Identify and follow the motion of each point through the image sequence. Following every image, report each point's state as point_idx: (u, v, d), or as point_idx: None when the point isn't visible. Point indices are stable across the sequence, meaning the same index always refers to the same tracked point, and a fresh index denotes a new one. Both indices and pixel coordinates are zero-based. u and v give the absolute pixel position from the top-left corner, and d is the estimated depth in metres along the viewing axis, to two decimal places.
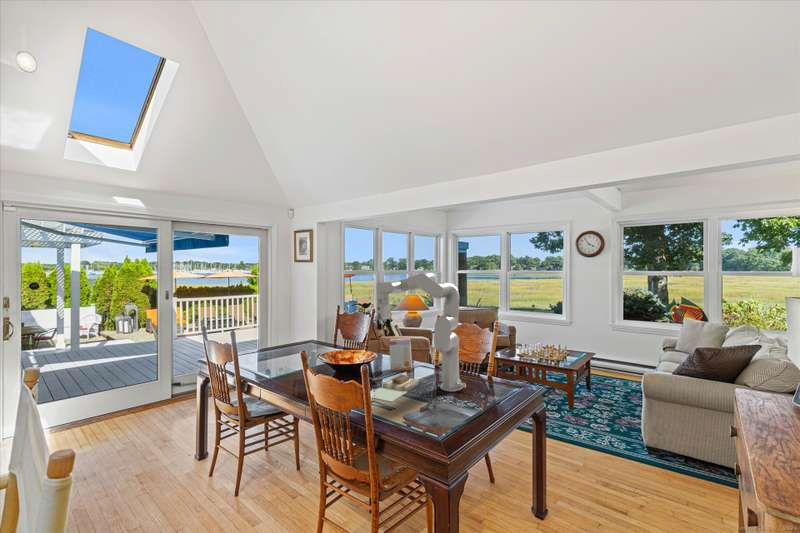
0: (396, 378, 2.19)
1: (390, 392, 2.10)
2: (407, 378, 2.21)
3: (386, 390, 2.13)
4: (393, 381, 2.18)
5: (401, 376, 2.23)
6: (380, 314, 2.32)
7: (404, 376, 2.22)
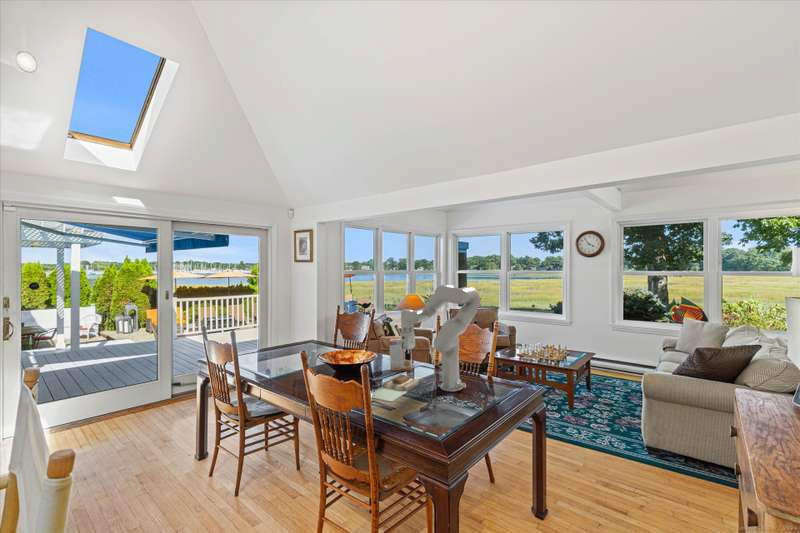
0: (396, 378, 2.19)
1: (390, 392, 2.10)
2: (407, 378, 2.21)
3: (386, 390, 2.13)
4: (393, 381, 2.18)
5: (401, 376, 2.23)
6: (405, 348, 2.25)
7: (404, 376, 2.22)
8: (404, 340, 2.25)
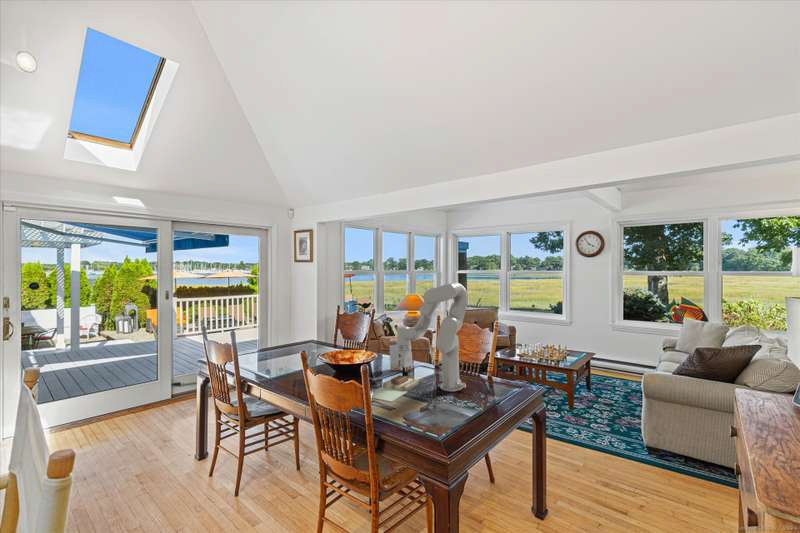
0: (395, 379, 2.18)
1: (390, 392, 2.10)
2: (406, 379, 2.20)
3: (386, 390, 2.13)
4: (392, 382, 2.17)
5: (400, 377, 2.22)
6: (402, 366, 2.20)
7: (403, 377, 2.21)
8: (401, 358, 2.20)
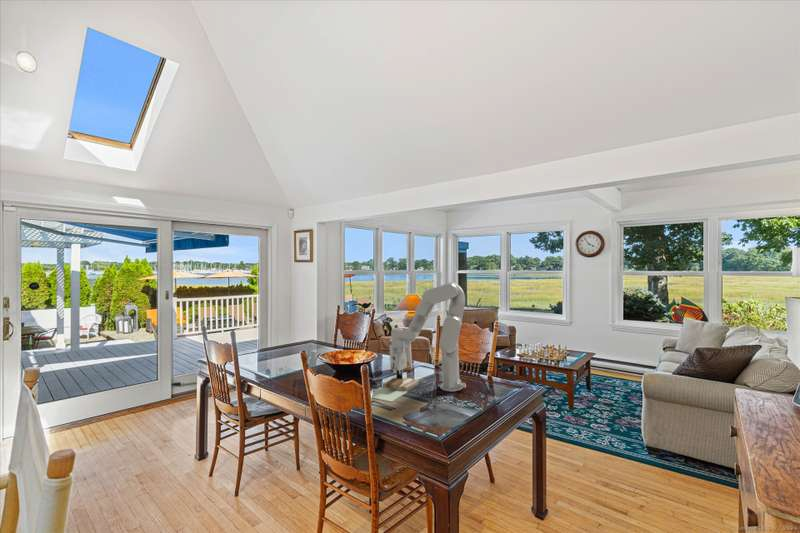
0: (389, 382, 2.13)
1: (390, 392, 2.10)
2: (400, 382, 2.15)
3: (386, 390, 2.13)
4: (386, 386, 2.12)
5: (394, 380, 2.16)
6: None
7: (397, 380, 2.16)
8: (395, 361, 2.15)
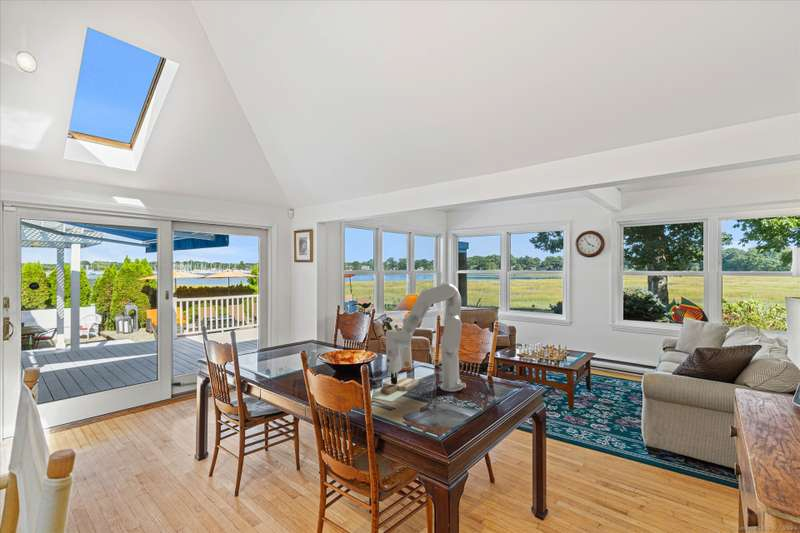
0: (384, 388, 2.09)
1: None
2: (396, 388, 2.11)
3: None
4: (381, 391, 2.08)
5: (390, 386, 2.12)
6: (390, 371, 2.10)
7: (393, 386, 2.12)
8: (389, 363, 2.10)
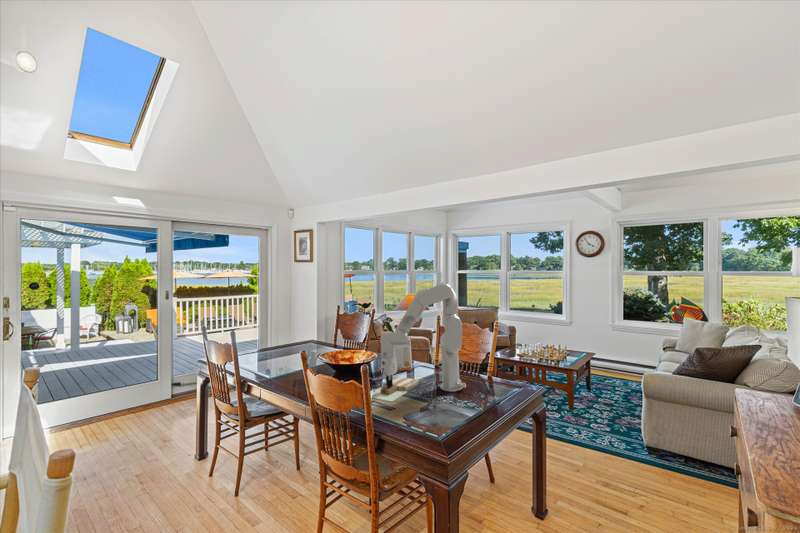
0: (384, 388, 2.09)
1: None
2: (396, 388, 2.11)
3: None
4: (381, 391, 2.08)
5: None
6: (386, 374, 2.06)
7: (393, 386, 2.12)
8: (384, 366, 2.06)
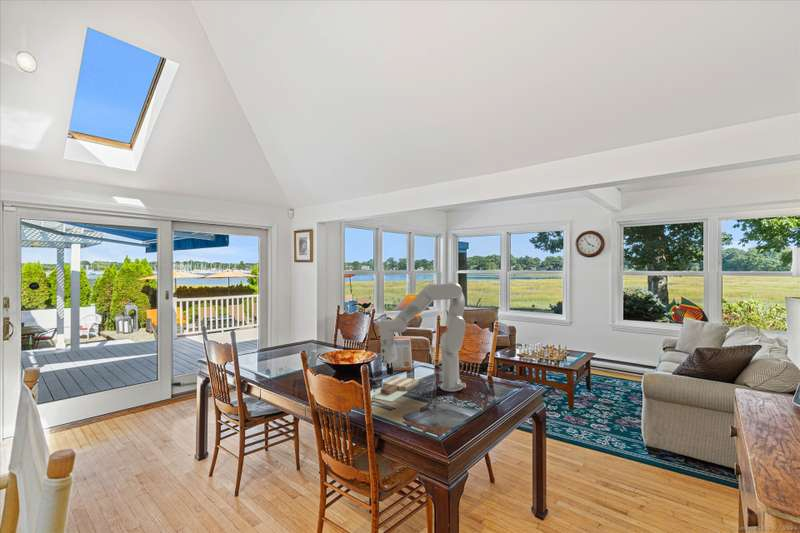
0: (384, 388, 2.09)
1: None
2: (396, 388, 2.11)
3: None
4: (381, 391, 2.08)
5: (390, 386, 2.12)
6: (386, 362, 2.06)
7: (393, 386, 2.12)
8: (384, 353, 2.06)
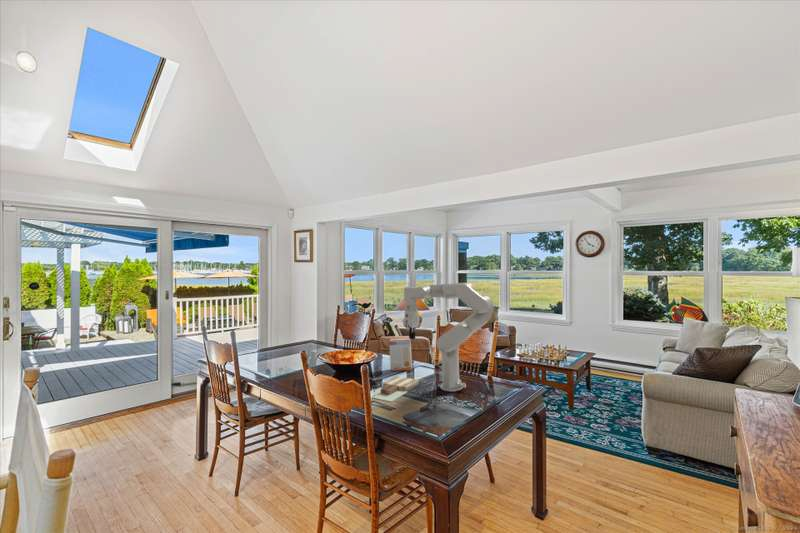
0: (384, 388, 2.09)
1: None
2: (396, 388, 2.11)
3: None
4: (381, 391, 2.08)
5: (390, 386, 2.12)
6: None
7: (393, 386, 2.12)
8: (408, 318, 2.17)
